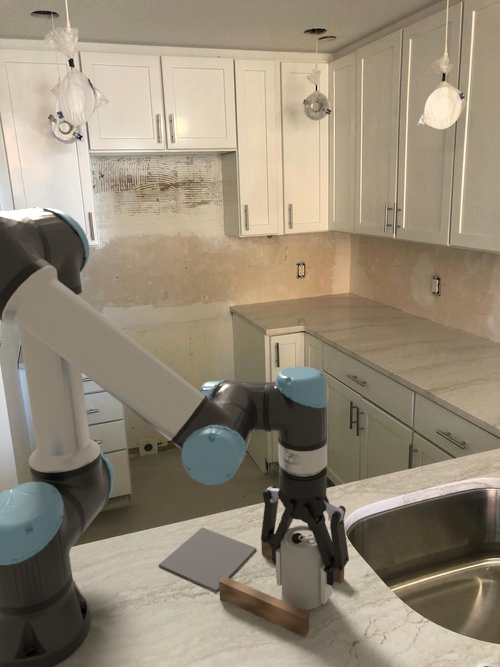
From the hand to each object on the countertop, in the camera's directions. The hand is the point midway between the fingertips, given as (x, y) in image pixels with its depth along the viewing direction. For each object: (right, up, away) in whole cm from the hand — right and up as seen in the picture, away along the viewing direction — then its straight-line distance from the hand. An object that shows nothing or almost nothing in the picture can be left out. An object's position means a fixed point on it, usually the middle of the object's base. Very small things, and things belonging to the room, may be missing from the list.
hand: (303, 589), depth 91 cm
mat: (-17, +1, +11) cm, 20 cm away
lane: (-3, -1, +3) cm, 4 cm away
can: (0, -2, 0) cm, 2 cm away
